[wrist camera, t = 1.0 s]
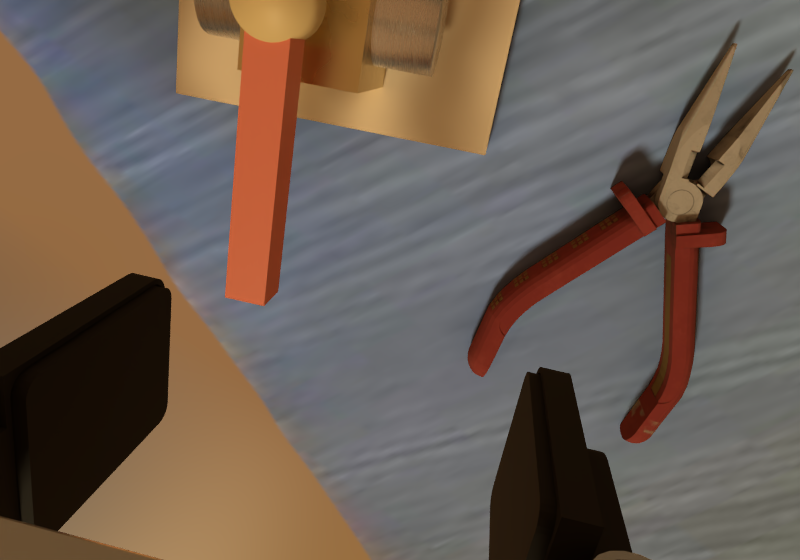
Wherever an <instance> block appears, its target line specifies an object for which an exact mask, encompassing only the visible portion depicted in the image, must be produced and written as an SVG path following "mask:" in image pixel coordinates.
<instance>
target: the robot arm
mask: <svg viewBox="0 0 800 560" xmlns="http://www.w3.org/2000/svg"><path fill="white" fill-rule="evenodd" d="M170 321H171V292H170V290H169V289H168V288H165V287H164V284H163V282H162V280H160V279H156V278H152V277H148V276H143V275H139V274H135V273H131V274H128V275H126V276H125V277H123V278H121V279H119V280H118V281H116V282H114V283H113V284H111V285H109V286H107V287H106V288H104V289H102V290H100V291H99V292H97V293H95V294H93V295H92V296H90V297H88V298H87V299H85V300H83V301H82V302H80V303H78V304H76V305H74V306H73V307H71V308H69V309H67V310H66V311H64V312H62V313H61V314H59V315H57V316H55V317H54V318H52V319H50V320H49V321H47V322H45V323H43V324H42V325H40V326H38V327H36V328H35V329H33V330H31V331H30V332H28V333H26V334H24V335H23V336H21V337H19V338H17V339H16V340H14V341H12V342H10V343H9V344H7V345H5V346H4V347H2V348H0V560H163V559H158V558H155V557H151V556H148V555H144V554H140V553H137V552H133V551H129V550H125V549H122V548H118V547H115V546H111V545H107V544H103V543H99V542H96V541H92V540H89V539H85V538H81V537H78V536H74V535H70V534H67V533H63V532H58V530H59V529H60V528H61V527H62V526H63V525H64V524H65V523H66V522H67V521H68V520H69V518H70V517H71V516H72V515H73V514H74V513H75V512H76V511H77V510H78V509H79V508H80V507H81V506H82V505H83V504H84V502H85V501H86V500H87V499H88V498H89V497H90V496H91V495H92V494H93V493H94V492H95V491H96V490H97V489H98V488H99V486H100V485H101V484H102V483H103V482H104V481H105V480H106V479H107V478H108V477H109V476H110V475H111V474H112V473H113V472H114V471H115V470H116V468H117V467H118V466H119V465H120V464H121V463H122V462H123V461H124V460H125V459H126V458H127V457H128V456H129V455H130V454H131V453H132V451H133V450H134V449H135V448H136V447H137V446H138V445H139V444H140V443H141V442H142V441H143V440H144V439H145V438H146V436H148V434H149V433H150V432H151V431H152V430H153V429H154V428H155V427H156V426H157V425H158V424H159V423H160V421H161V420H162V418H163V417H164V414H165V412H166V409H167V402H168V376H169V347H170ZM489 560H650V559H648V558H646V557H644V556H641V555H639V554H635V553H632V550H631V546H630V542H629V539H628V535H627V531H626V527H625V524H624V520H623V516H622V512H621V509H620V505H619V501H618V497H617V494H616V490H615V486H614V482H613V479H612V475H611V471H610V467H609V464H608V460H607V457H606V455H605V454H604V453H603V452H600V451H596V450H591V449H587V447H586V442H585V438H584V433H583V428H582V424H581V419H580V415H579V410H578V406H577V401H576V397H575V392H574V388H573V383H572V379H571V375H570V374H569V373H564V372H560V371H556V370H551V369H547V368H543V367H540V368H539V369H538V371H537V374H535V373H530V372H527V373H526V376H525V379H524V382H523V385H522V389H521V392H520V396H519V399H518V403H517V406H516V410H515V413H514V416H513V420H512V423H511V427H510V430H509V434H508V437H507V441H506V444H505V447H504V451H503V454H502V458H501V461H500V465H499V468H498V472H497V475H496V479H495V482H494V486H493V490H492V495H491V503H490V539H489Z"/></svg>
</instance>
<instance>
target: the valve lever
mask: <svg viewBox="0 0 800 560" xmlns="http://www.w3.org/2000/svg"><path fill="white" fill-rule="evenodd" d="M229 3H230V7H231V10H232V13H233V15H234V17H235V19H236V21H237V22H238V24H239V25H240V26H241V27H242V29H243V30H244V42H243V56H242V70H241V84H240V98H239V112H238V126H237V139H236V153H235V167H234V181H233V195H232V209H231V223H230V237H229V250H228V264H227V278H226V292H225V297H226V298H231V299H235V300H240V301H244V302H248V303H253V304H257V305H261V306H265V305H266V304H267V302H268V301H269V300H270V299H271V298H272V297H273V296H274V295H275V294H276V293H277V292H278V287H279V278H280V268H281V259H282V250H283V240H284V231H285V222H286V212H287V203H288V194H289V184H290V175H291V166H292V156H293V147H294V138H295V128H296V119H297V110H298V100H299V91H300V82H301V72H302V63H303V54H304V44H305V40H306V39H308V38H309V37H311V36H312V35H313V34H314V33H315V32H316V31H317V30H318V28H319V27H320V25H321V23H322V21H323V19H324V16H325V11H326V0H229Z"/></svg>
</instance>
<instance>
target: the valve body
mask: <svg viewBox="0 0 800 560" xmlns="http://www.w3.org/2000/svg"><path fill="white" fill-rule="evenodd" d="M194 5H195V11H196V15H197V18H198V21H199V24H200V26H201V27H202V29H203V30H204V31H205V32H206V33H207V34H210V35H214V36H220V37H225V38H230V39H235V40H239V53H238V67H237V70H240V71H241V70H242V56H243V42H244V30H243V29H242V27H241V26H240V25H239V24H238V22H237V21H236V19H235V17H234V15H233V13H232V10H231V7H230V3H229V0H194ZM447 8H448V0H326V11H325V16H324V19H323V21H322V23H321V25H320V27H319V28H318V30H317V31H316V32H315V33H314V34H313V35H312V36H311V37H309V38H308V39H306V40H305V44H304V54H303V63H302V72H301V82H302V83H307V84H312V85H317V86H322V87H327V88H332V89H337V90H343V91H348V92H353V93H361V92H366V91H370V90H374V89H378V88H382V87H383V84H384V78H385V71H386V68H387V69H392V70H397V71H402V72H408V73H413V74H418V75H423V76H429V77H432V76H433V74H434V71H435V68H436V65H437V61H438V57H439V53H440V49H441V44H442V39H443V34H444V28H445V22H446V16H447Z"/></svg>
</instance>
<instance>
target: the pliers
mask: <svg viewBox="0 0 800 560" xmlns="http://www.w3.org/2000/svg"><path fill="white" fill-rule="evenodd" d="M736 46H737V44H735V43H732V45H731V46H730V48H729V49H728V51H727V53H726V54H725V56H724V57H723V59H722V60H721V62H720V63H719V65H718V67H717V68H716V70H715V71H714V73H713V74H712V76H711V77H710V79H709V81H708V82H707V84H706V85H705V87H704V88H703V90H702V91H701V93H700V94H699V96H698V98H697V99H696V101H695V102H694V104H693V105H692V107H691V108H690V110H689V112H688V113H687V115H686V116H685V118H684V119H683V121H682V122H681V124H680V125H679V127H678V129H677V130H676V132H675V134H674V136H673V139H672V141H671V143H670V146H669V148H668V150H667V153H666V155H665V158H664V160H663V163H662V166H661V168H660V171H661V172H662V173H663V177H662V180H661V181H660V182H658V184H657V185H656V186H655V187H654V188H653V189H652V191H651V192H650V193H649V194H648V195H647V196H646V195H645V194H642V195H641V196H639V197H638V198H635V197H634V195H633V194H632V192H631V191H630V190H629V188H628V187H627V186H626V185H625V184H624V183H623V182H622V181H621V182H619V183H618V184H616V185H615V186H613V187H612V188H611V190H612V191H613V193H614V194H615V196H616V197H617V199H618V200H619V201H620V203H621V204H622V206H623V208H622V209H620V210H618V211H617V212H615V213H614V214H612V215H611V216H609V217H608V218H606V219H604V220H603V221H601V222H600V223H598V224H597V225H595V226H594V227H592V228H590V229H589V230H587V231H586V232H584V233H583V234H581V235H580V236H578V237H577V238H575V239H573V240H572V241H570V242H569V243H567V244H566V245H564V246H563V247H561V248H559V249H558V250H556V251H555V252H553V253H552V254H550V255H549V256H547V257H545V258H544V259H542V260H541V261H539V262H538V263H536V264H535V265H533V266H532V267H530V268H528V269H527V270H525V271H524V272H522V273H521V274H520V275H518V276H517V277H516V278H514V279H513V280H512V281H511V282H510V283H509V284H508V285H506V286H505V287H504V288H503V289H502V290H501V291H500V292H499V293H498V294H497V295H496V297H495V298H494V299H493V300H492V302H491V303H490V304H489V306H488V308H487V311H486V313H485V315H484V317H483V319H482V321H481V324H480V326H479V328H478V330H477V332H476V335H475V337H474V339H473V341H472V343H471V345H470V348H469V351H468V363H469V366H470V368H471V370H472V371H473V372H474V373H475V374H477V375H479V376H481V377H483V376H484V375H485V374H486V372H487V371H488V369H489V367H490V365H491V363H492V361H493V359H494V357H495V355H496V353H497V351H498V349H499V347H500V345H501V343H502V341H503V339H504V337H505V335H506V333H507V332H508V330H509V329H510V327H511V326H512V325H513V324H514V322H515V321H516V320H517V319H518V318H519V317H520V316H521V315H522V314H523V313H524V312H525V311H526V310H528V309H529V308H530V307H531V306H533V305H534V304H535V303H537V302H538V301H540V300H541V299H543V298H544V297H546V296H548V295H549V294H551V293H553V292H554V291H556V290H557V289H559V288H561V287H562V286H564V285H565V284H567V283H569V282H570V281H572V280H574V279H575V278H577V277H578V276H580V275H582V274H583V273H585V272H586V271H588V270H590V269H591V268H593V267H595V266H596V265H598V264H599V263H601V262H603V261H604V260H606V259H607V258H609V257H611V256H612V255H614V254H616V253H617V252H619V251H620V250H622V249H624V248H625V247H627V246H628V245H630V244H632V243H633V242H635V241H637V240H638V239H640V238H641V237H643V236H646V235H648V234H649V233H651V232H653V231H654V230H656V228H657V227H659V226H661V225H662V224H664V223H666V227H665V263H664V306H663V343H662V352H661V357H660V361H659V364H658V368H657V370H656V372H655V375H654V377H653V379H652V380H651V382H650V384H649V385H648V387H647V388H646V389H645V391H644V392H643V394H642V395H641V396H640V398H639V399H638V400H637V402H636V403H635V405H634V406H633V407H632V409H631V410H630V412H629V413H628V414H627V416H626V417H625V419H624V420H623V421H622V423H621V424H620V432H621V435H622V438H623V439H624V440H626V441H628V442H631V443H641V442H644V441H646V440H647V439H648V438H650V437H651V435H652V434H653V433H654V432H655V430H656V429H657V428H658V426H659V425H660V424H661V423H662V421H663V420H664V419H665V418H666V416H667V415H668V414H669V413H670V411H671V410H672V409H673V408H674V406H675V405H676V404H677V402H678V401H679V400H680V399H681V397H682V396H683V393H684V391H685V389H686V387H687V385H688V381H689V378H690V374H691V369H692V364H693V358H694V349H695V326H696V303H697V280H698V256H699V248H700V247H714V246H721V245H724V244H725V243H726V231H727V230H726V228H724V227H723V226H722V225H721V224H719V223H718V222H704V223H701V221H700V220H699V219H698V218H697V217H698V214H699V212H700V209H701V207H702V204H703V198H704V197H705V196H706V195H707V194H708V195H710V196H712V197H714V196H715V195H716V193H717V192H718V191H719V190H720V189H721V188H722V187H723V185H724V184H725V183H726V182H727V180H728V179H729V178H730V177H731V175H732V174H733V173H734V172H735V170H736V169H737V168H738V167H739V165H740V164H741V162H742V161H743V159H744V157H745V156H746V154H747V152H748V150H749V149H750V147H751V145H752V143H753V141H754V140H755V138H756V136H757V134H758V133H759V131H760V129H761V127H762V125H763V124H764V122H765V120H766V118H767V117H768V115H769V113H770V111H771V109H772V108H773V106H774V104H775V102H776V101H777V99H778V97H779V95H780V93H781V92H782V90H783V88H784V86H785V85H786V83H787V81H788V79H789V77H790V76H791V74H792V72H793V70H792V69H788V70H787V71H786V72H785V73H784V74H783V75H782V76H781V77H780V78H779V79H778V80H777V81H776V83H775V84H774V85H773V86H772V87H771V88H770V89H769V90H768V91H767V92H766V93H765V94H764V95H763V96H762V97H761V98H760V99H759V100H758V101H757V102H756V104H755V105H754V106H753V107H752V108H751V109H750V110H749V111H748V112H747V113H746V114H745V115H744V116H743V117H742V118H741V119H740V120H739V121H738V122H737V124H736V125H735V126H734V127H733V128H732V129H731V130H730V131H729V132H728V133H727V134H726V135H725V136H724V137H723V139H722V140H721V141H720V142H719V143H718V144H717V145H716V146H715V148H714V149H713V150H712V151H711V152H710V153H709V154H708V155H707V157H708V158H709V159H710V161H711V167H710V168H709V169H708V170H707V171H706V172H705V173H704V174H703V175H702V176H701V178H700V179H699V180H691V179H689V178H687V177H688V175H689V172H690V169H691V167H692V164H693V162H694V159H695V157H696V154H697V152H700V150H701V148H702V145H703V143H704V140H705V137H706V135H707V132H708V129H709V127H710V124H711V121H712V118H713V115H714V112H715V109H716V106H717V103H718V100H719V97H720V94H721V91H722V88H723V85H724V82H725V79H726V76H727V73H728V70H729V67H730V64H731V61H732V58H733V55H734V52H735V49H736ZM664 218H666V220H665V219H664Z"/></svg>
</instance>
